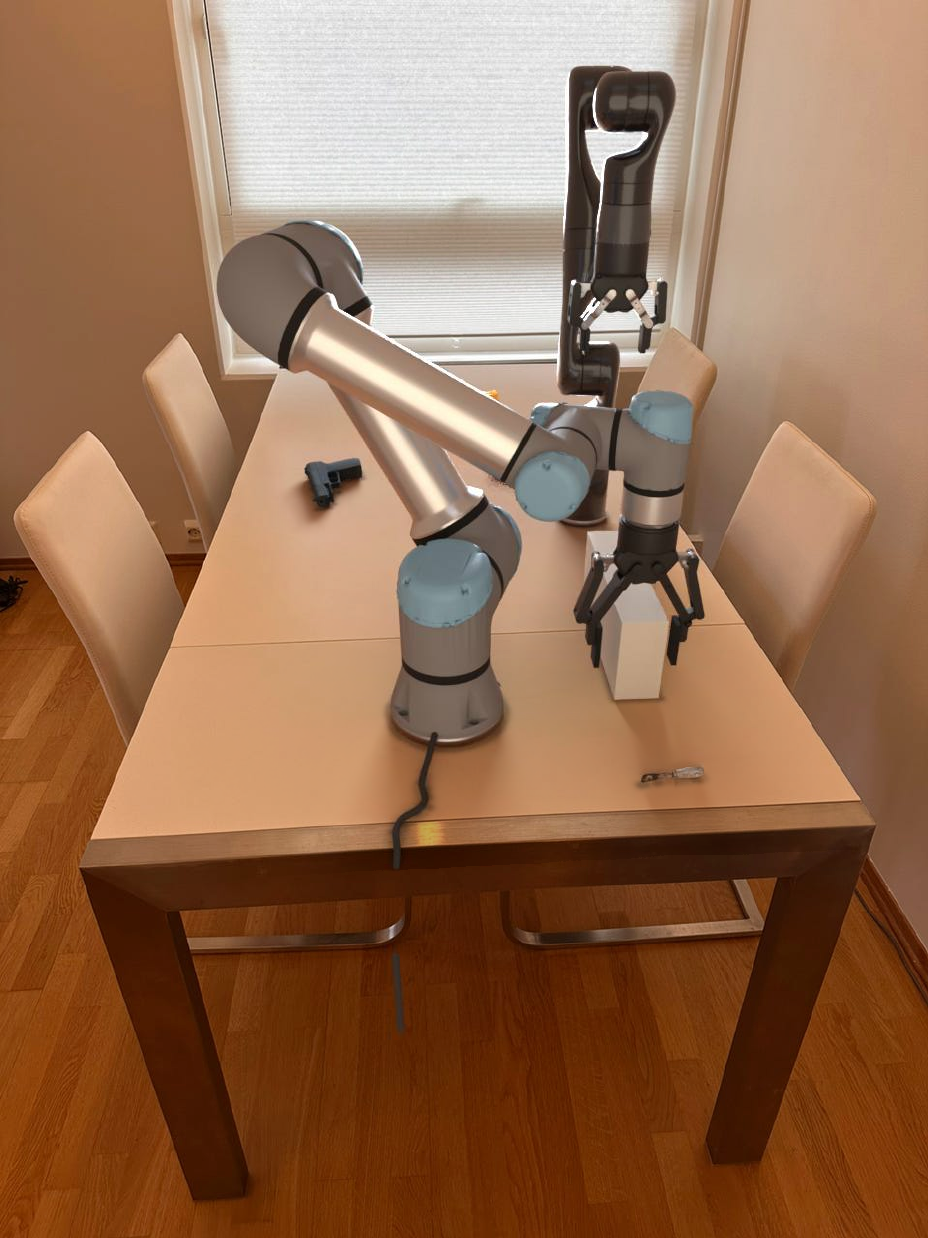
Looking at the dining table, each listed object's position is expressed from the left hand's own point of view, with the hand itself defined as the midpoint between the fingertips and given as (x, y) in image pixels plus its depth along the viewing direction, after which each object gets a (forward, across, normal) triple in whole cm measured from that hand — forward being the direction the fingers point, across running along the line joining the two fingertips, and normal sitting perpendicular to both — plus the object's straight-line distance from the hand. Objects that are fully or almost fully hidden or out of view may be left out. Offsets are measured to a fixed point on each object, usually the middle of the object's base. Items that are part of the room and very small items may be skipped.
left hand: (633, 661), depth 125 cm
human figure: (+4, +21, -118) cm, 120 cm away
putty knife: (+4, -1, +20) cm, 21 cm away
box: (+4, 0, -10) cm, 10 cm away
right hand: (-34, -1, -33) cm, 47 cm away
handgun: (+4, +46, -71) cm, 85 cm away
